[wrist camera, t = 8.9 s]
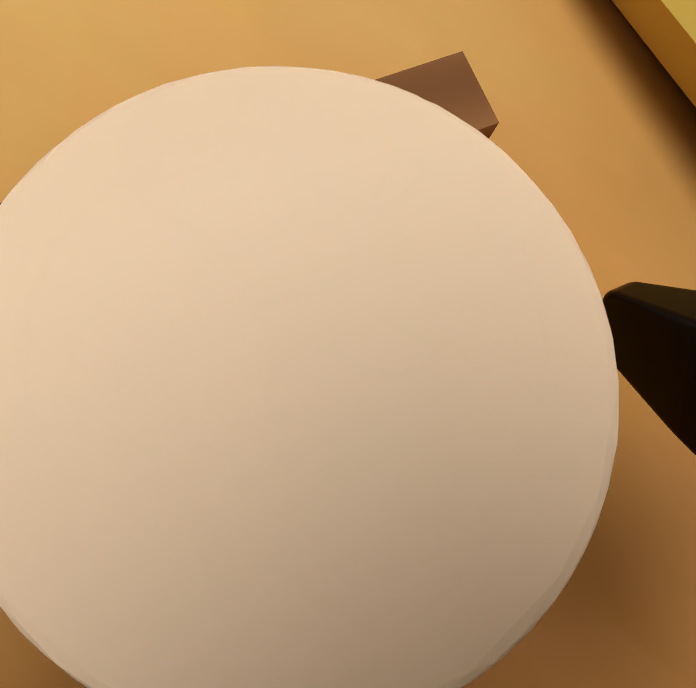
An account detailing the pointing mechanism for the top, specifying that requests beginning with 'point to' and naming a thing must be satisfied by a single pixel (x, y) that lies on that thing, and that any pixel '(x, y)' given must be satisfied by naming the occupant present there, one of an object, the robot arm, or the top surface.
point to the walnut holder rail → (449, 90)
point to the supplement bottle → (292, 391)
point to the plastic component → (667, 35)
